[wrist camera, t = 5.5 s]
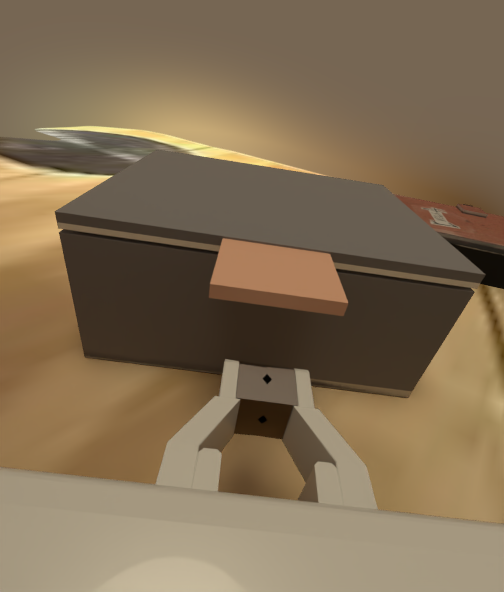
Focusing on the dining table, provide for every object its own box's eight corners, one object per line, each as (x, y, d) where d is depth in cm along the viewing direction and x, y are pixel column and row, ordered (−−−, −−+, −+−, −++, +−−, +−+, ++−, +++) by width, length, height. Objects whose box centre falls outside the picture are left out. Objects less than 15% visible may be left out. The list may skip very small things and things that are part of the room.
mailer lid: (-3, 271, 11) (-10, 250, 11) (157, 159, 28) (157, 149, 28) (534, 344, 12) (547, 328, 12) (379, 194, 29) (382, 185, 28)
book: (539, 255, 48) (562, 223, 45) (623, 322, 34) (663, 283, 31) (365, 217, 51) (376, 186, 49) (373, 264, 37) (389, 223, 34)
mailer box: (84, 357, 19) (59, 232, 15) (159, 244, 32) (157, 161, 28) (407, 397, 20) (474, 292, 16) (351, 272, 33) (378, 196, 29)
